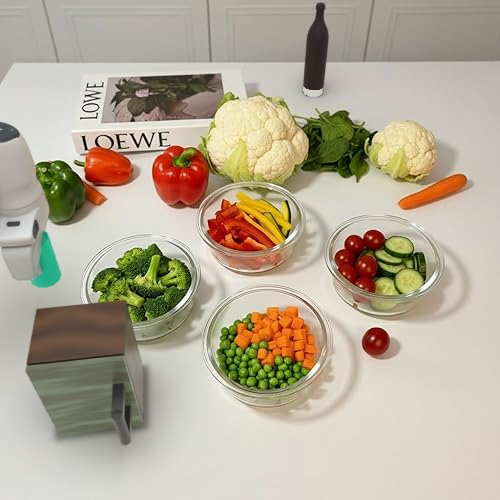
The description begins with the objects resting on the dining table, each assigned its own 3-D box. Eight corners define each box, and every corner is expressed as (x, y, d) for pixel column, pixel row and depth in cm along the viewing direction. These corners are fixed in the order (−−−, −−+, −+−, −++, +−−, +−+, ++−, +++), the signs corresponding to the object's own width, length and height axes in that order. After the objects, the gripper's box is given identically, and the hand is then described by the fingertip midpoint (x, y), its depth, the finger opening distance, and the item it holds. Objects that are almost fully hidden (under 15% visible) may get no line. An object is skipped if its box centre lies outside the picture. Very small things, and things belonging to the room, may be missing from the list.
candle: (62, 264, 112) (48, 221, 104) (61, 285, 108) (46, 242, 100) (31, 268, 111) (15, 225, 103) (29, 290, 107) (12, 246, 99)
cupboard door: (143, 460, 95) (122, 396, 80) (55, 471, 94) (18, 409, 79) (143, 421, 101) (124, 355, 85) (60, 431, 99) (26, 365, 84)
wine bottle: (325, 90, 188) (335, 1, 167) (319, 100, 183) (328, 9, 162) (306, 86, 190) (313, -2, 169) (299, 96, 185) (306, 6, 164)
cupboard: (143, 420, 101) (124, 353, 85) (61, 430, 100) (26, 363, 84) (143, 370, 109) (126, 299, 93) (67, 378, 107) (36, 308, 92)
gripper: (12, 173, 104) (31, 226, 113) (-10, 247, 89) (14, 301, 99) (46, 171, 104) (62, 224, 114) (30, 244, 90) (50, 298, 100)
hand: (40, 261), depth 106 cm, fingers closed on candle, 5 cm apart
